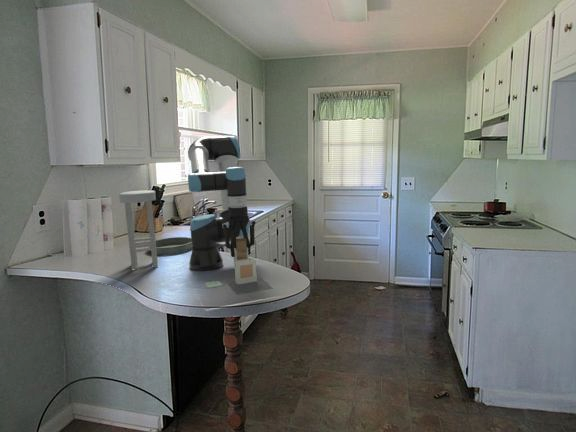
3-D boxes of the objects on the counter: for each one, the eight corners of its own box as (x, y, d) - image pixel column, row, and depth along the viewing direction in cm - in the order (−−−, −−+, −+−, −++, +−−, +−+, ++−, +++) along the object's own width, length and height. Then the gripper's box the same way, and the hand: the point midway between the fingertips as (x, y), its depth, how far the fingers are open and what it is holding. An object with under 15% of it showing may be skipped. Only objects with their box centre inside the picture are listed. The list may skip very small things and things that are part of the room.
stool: (128, 263, 201) (120, 191, 195) (161, 259, 205) (154, 189, 200) (126, 272, 186) (118, 195, 180) (162, 267, 191) (155, 192, 185)
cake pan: (157, 245, 239) (156, 237, 238) (199, 243, 238) (198, 236, 237) (140, 256, 214) (139, 248, 214) (187, 254, 213) (186, 246, 213)
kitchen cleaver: (244, 244, 228) (229, 247, 221) (244, 246, 228) (229, 249, 221) (220, 239, 246) (205, 241, 239) (220, 240, 246) (205, 243, 239)
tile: (235, 282, 163) (234, 260, 162) (255, 279, 166) (253, 257, 165) (237, 284, 161) (235, 262, 159) (256, 281, 164) (255, 259, 162)
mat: (227, 284, 164) (227, 282, 164) (260, 278, 169) (260, 277, 169) (236, 296, 150) (236, 294, 150) (273, 289, 155) (273, 288, 155)
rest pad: (204, 285, 163) (204, 282, 163) (219, 282, 166) (219, 280, 165) (207, 290, 158) (207, 287, 158) (222, 287, 160) (222, 284, 160)
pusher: (235, 263, 169) (233, 237, 167) (244, 262, 170) (243, 236, 168) (237, 266, 165) (236, 239, 163) (247, 264, 166) (245, 238, 165)
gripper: (218, 209, 157) (222, 269, 161) (261, 205, 163) (264, 262, 167) (214, 207, 164) (218, 264, 168) (255, 203, 170) (258, 258, 174)
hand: (241, 263), depth 167 cm, fingers closed on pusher, 4 cm apart
